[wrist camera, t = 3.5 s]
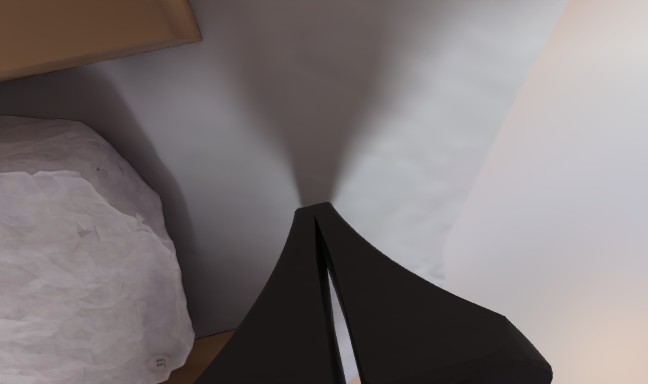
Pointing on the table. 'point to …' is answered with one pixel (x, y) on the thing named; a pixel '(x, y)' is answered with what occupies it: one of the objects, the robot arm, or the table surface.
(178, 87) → the table surface
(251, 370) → the robot arm
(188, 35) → the wooden bar set
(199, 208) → the table surface
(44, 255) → the stone block
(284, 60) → the table surface
